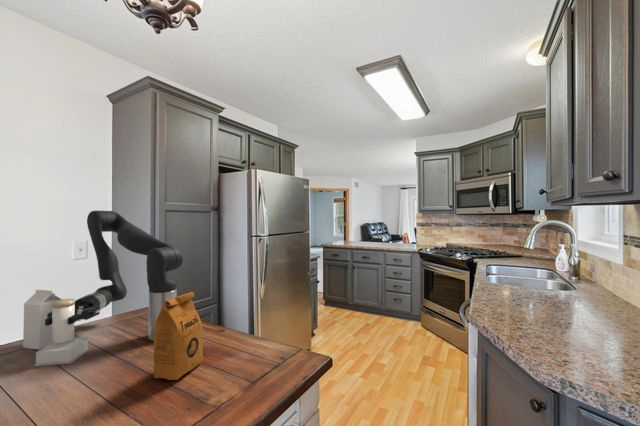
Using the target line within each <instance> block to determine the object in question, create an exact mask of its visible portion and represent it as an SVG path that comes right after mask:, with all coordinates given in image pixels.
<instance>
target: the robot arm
mask: <svg viewBox="0 0 640 426" xmlns="http://www.w3.org/2000/svg"><path fill="white" fill-rule="evenodd" d="M86 224H87V229H88V232H89V236H90V239H91V242H92V246H93V249H94V251H95V256H96V261H97V267H98V268H97V269H98V277H99V279H100V280H101V281H111V283H112V284H108V285H106V286H105V285H104V286H101V287H99V288H97V289H96V290H95V291H94V292H92V293H89V294H86V295H84V296H82V297H80V298H78V299H75V314H74V315H72V316H71V317H69V318H68V325H69V324H73V323H74V324H75V323H76V322H80V321H82V320H84V321H87V320H89V319H92V318H94V317H96V316H98V315H100V311H102V310H103V309H104V308H105V307H107V306H109V305H110V304H111V303H113V302H117V301H121V300H123V299H125V298H126V297H127V293H128V290H127V287H126V284H125V283H124V281H123V279H122V276H121V274H120V266H119V259H118V257H117V255H116V254H115V252H114V251H113V250H112V248H111V247H110V246H109V245H108V243H107V242H106V241H105V239H104V237H103V233H104V232H107V233H108V232H110V233H111V232H112V233H116V234H117V237H116V238H117V242H118V243H119V244H120V246H122V247H123V248H125V249H126V250H128V251H130V252H132V253H134V254H139V255H143V256H146V281H147V287H148V332H147V335H148V340H149V341H153V342H154V331H155V324H156V320H157V317H158V315H159V313H160V311H161V309H162V307H163V304H164V302H165V301H167V300H170V299H172V298H174V297H178V295H177V290H178V287H177V285H178V283H177V281H176V280H173V279H169V278H167V277H166V273H167V272H171V271H175V270H178V269H179V268H180V267H181V266H182V265H183V261H184V257H183V254H182V252H181V251H180V249H178V248H177V247H176V246H173V245H171V244H168V243H167V242H164V241H161V240H160V239H158V238H156V237H154V236H153V235H151V234H149V233H148V232H146V231H145V230H143V229H142V228H140V227H138V226H136V225H135V224H133V223H131V222H130V221H128V220H127V219H125V218H124V216H122V215H120V214H119V213H118V212H116V211H113V210H91V211H90V212H89V213H88V214H87V217H86ZM51 324H52V311H51V312H50V313H48V314H47V319H45V325H46V326H49V325H51Z"/></svg>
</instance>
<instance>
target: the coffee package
mask: <svg viewBox="0 0 640 426" xmlns="http://www.w3.org/2000/svg"><path fill="white" fill-rule="evenodd" d="M195 297H196V296H195V293H194V291H190V292H188V293H184V294H182V295H177V296H176V297H174V298H172V299H170V300H167V301H165V302H164V304H163V307H162V309H161V311H160V313H159V315H158V317H157V320H156V324H155V331H154V341H153V378H154V379H165V380H168V381H178V380H179V379H180V378H182V376H184V375H185V374H187V373H188V372H190V371H192V370H194V369H195V368H196V367H197V366H198V365H200V364H201V363H202V361H203V359H204V357H203V355H204V354H203V333H204V330H203V329H204V327H203V323H202V319H201V318H200V315H199V314H198V311H197V310H196V307H195V304H194V301H193V300H192V299H194V298H195Z"/></svg>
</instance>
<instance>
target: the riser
mask: <svg viewBox="0 0 640 426" xmlns="http://www.w3.org/2000/svg"><path fill="white" fill-rule="evenodd" d="M87 351H90V348H89V347H88V337H82V338H81V337H79V338H73V339H72V340H69V341H66V342H62V343H51V344H49V345H47V346H46V347H44V348H42V349H38V351H36V352H35V363H34V364H33V367H42V366H53V365H55V366H56V365H64V364H66V365H67V364H72V363H73V362H74V361H76V360H77V359H78V358H80V357H81V356H82V355H83V354H85V353H86V352H87Z"/></svg>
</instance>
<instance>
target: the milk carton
mask: <svg viewBox="0 0 640 426" xmlns="http://www.w3.org/2000/svg"><path fill="white" fill-rule="evenodd" d="M62 299H63V298H61V297H59V296H58V295H56V293H55V292H53V290H48V289H35V293H34V294H33V295H32V296H30V297H29V299H27V301H25V302H24V303H23V333H22V334H23V336H22V337H23V339H22V340H23V341H22V342H23V343H22V345H23V346H22V347H23V348H24V349H32V350H41V349H42V348H44V347H46V346H47V345H49V344H51V343H52V324H51V325H49V326H46V325H45V319H47V314H48V313H50V312H51V311H52V302H54V301H57V300H62Z"/></svg>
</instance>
